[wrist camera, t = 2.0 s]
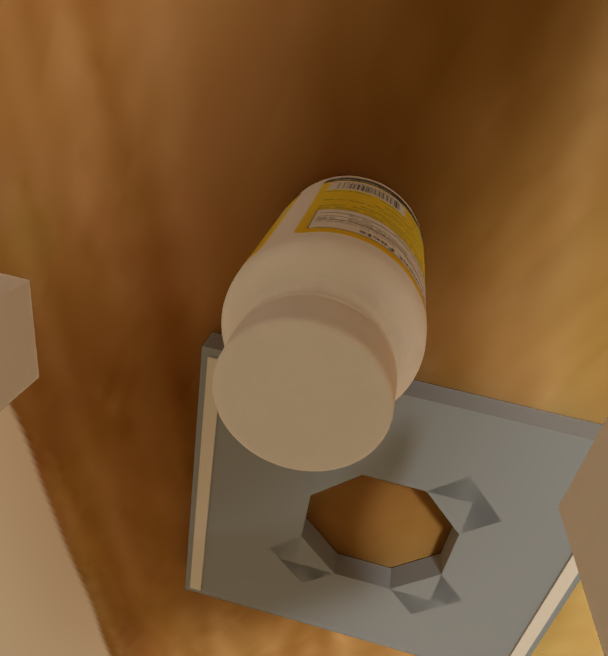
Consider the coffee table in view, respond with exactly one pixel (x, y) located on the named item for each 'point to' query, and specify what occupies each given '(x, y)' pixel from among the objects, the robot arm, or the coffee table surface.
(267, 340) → the supplement bottle
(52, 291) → the coffee table surface
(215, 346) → the socket board
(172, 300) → the coffee table surface
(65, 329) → the coffee table surface
